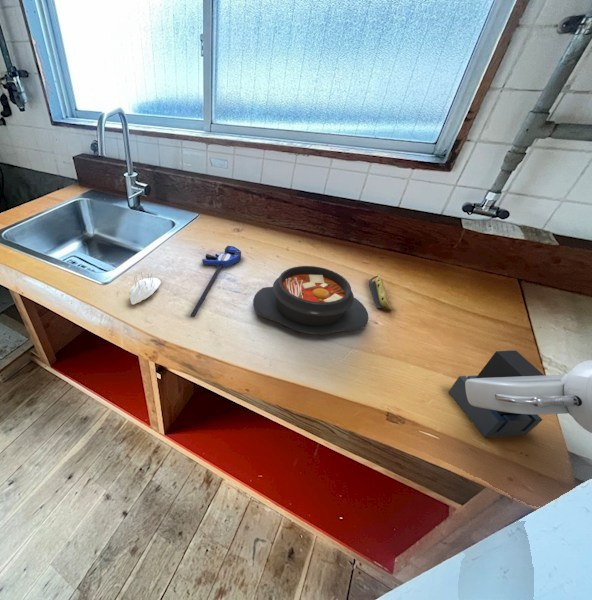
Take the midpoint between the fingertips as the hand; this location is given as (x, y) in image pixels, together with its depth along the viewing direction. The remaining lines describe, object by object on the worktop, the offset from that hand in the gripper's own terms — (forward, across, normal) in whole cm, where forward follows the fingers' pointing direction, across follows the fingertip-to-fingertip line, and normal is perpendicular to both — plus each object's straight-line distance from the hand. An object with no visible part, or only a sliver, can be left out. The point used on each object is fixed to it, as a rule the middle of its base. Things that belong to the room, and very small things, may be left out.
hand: (502, 384), depth 49 cm
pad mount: (+4, 0, -5) cm, 6 cm away
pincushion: (+31, -59, +22) cm, 70 cm away
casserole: (+23, -21, +14) cm, 34 cm away
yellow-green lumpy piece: (+27, -1, +18) cm, 33 cm away
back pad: (+3, 0, -4) cm, 5 cm away
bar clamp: (+34, -42, +25) cm, 60 cm away
